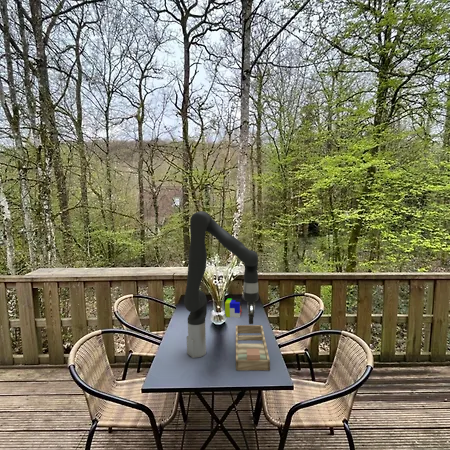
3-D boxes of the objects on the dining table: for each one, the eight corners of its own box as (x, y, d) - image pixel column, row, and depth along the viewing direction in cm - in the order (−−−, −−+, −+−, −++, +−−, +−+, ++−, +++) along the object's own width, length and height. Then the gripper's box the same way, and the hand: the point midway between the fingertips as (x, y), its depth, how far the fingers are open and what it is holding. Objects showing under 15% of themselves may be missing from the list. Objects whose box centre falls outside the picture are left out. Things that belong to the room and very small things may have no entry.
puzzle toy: (239, 318, 202) (239, 303, 201) (225, 317, 204) (224, 303, 203) (241, 312, 211) (241, 298, 210) (227, 311, 213) (227, 298, 212)
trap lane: (269, 370, 139) (269, 361, 139) (236, 370, 140) (235, 361, 139) (262, 332, 179) (262, 325, 178) (235, 332, 179) (235, 325, 179)
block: (260, 365, 140) (259, 355, 140) (247, 365, 140) (247, 355, 140) (259, 358, 146) (258, 348, 146) (246, 358, 146) (246, 348, 146)
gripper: (259, 294, 142) (259, 329, 143) (257, 286, 155) (257, 318, 156) (243, 294, 142) (244, 329, 144) (243, 286, 155) (243, 318, 157)
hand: (251, 323), depth 150 cm, fingers closed
